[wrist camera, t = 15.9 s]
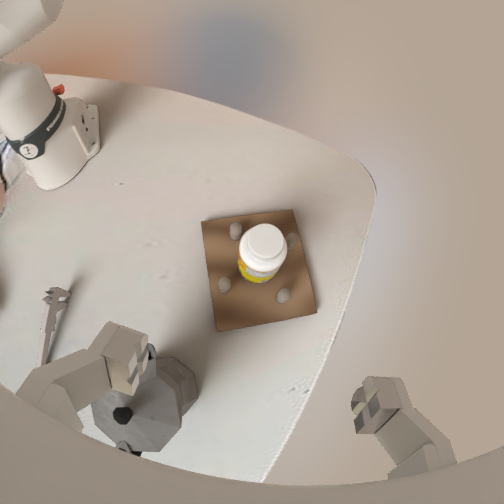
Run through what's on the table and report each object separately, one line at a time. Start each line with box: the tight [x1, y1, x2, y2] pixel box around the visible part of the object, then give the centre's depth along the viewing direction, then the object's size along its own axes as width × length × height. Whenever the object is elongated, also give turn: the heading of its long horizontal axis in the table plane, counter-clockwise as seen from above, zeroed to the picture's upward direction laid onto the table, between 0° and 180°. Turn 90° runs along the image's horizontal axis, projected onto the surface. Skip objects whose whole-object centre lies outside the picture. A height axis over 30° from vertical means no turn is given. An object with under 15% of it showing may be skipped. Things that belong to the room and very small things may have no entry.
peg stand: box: [201, 210, 317, 332], centre depth 39 cm, size 16×14×4 cm
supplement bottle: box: [238, 224, 287, 284], centre depth 35 cm, size 6×6×10 cm
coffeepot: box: [91, 343, 198, 457], centre depth 26 cm, size 15×9×18 cm, turn 166°
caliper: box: [36, 287, 71, 368], centre depth 32 cm, size 20×1×6 cm, turn 162°
